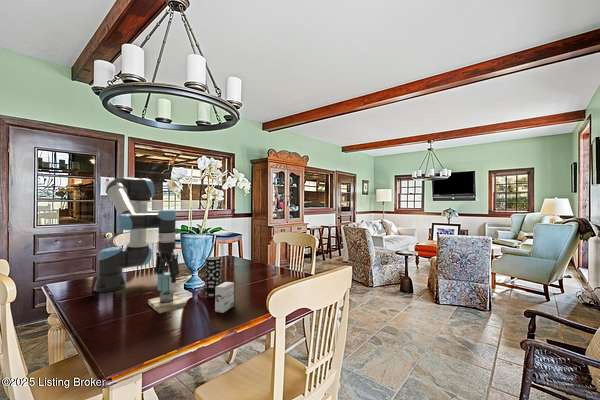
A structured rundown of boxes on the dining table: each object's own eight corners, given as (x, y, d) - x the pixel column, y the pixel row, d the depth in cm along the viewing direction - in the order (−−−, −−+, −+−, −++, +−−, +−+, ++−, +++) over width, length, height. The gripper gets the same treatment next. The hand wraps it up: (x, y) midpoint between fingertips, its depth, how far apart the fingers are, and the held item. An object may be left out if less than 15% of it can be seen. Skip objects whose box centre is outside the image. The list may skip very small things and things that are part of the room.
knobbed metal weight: (157, 300, 135) (157, 287, 135) (170, 297, 139) (170, 285, 139) (162, 304, 131) (162, 290, 131) (175, 301, 135) (175, 287, 135)
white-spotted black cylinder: (202, 295, 149) (202, 258, 149) (216, 291, 155) (216, 256, 155) (210, 299, 143) (210, 260, 143) (224, 295, 149) (224, 258, 149)
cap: (154, 289, 133) (154, 275, 133) (168, 285, 140) (168, 271, 140) (164, 292, 130) (164, 277, 130) (178, 287, 136) (178, 273, 136)
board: (147, 303, 136) (147, 299, 136) (172, 297, 145) (173, 294, 145) (159, 313, 125) (159, 308, 125) (185, 306, 133) (185, 302, 133)
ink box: (226, 305, 136) (226, 280, 136) (234, 306, 134) (234, 282, 134) (214, 311, 128) (214, 285, 128) (223, 313, 126) (223, 287, 126)
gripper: (147, 240, 137) (146, 286, 137) (173, 244, 127) (173, 293, 127) (161, 239, 143) (160, 282, 143) (187, 242, 133) (187, 289, 133)
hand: (166, 287), depth 135 cm, fingers closed on cap, 8 cm apart
